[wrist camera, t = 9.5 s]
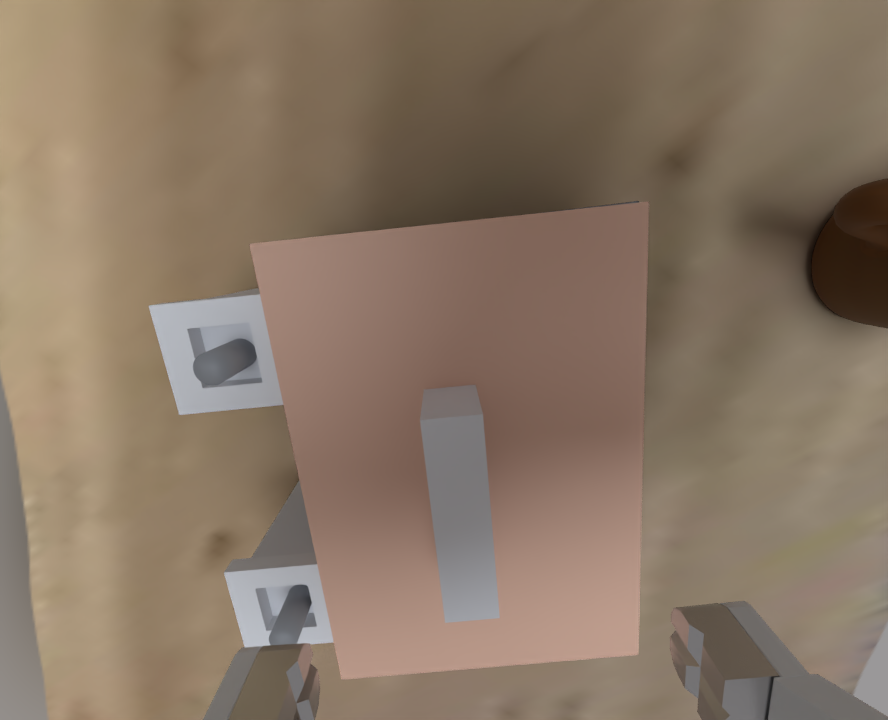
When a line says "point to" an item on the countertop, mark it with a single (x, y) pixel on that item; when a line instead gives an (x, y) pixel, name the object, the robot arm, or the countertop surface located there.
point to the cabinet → (290, 530)
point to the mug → (855, 256)
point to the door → (448, 435)
